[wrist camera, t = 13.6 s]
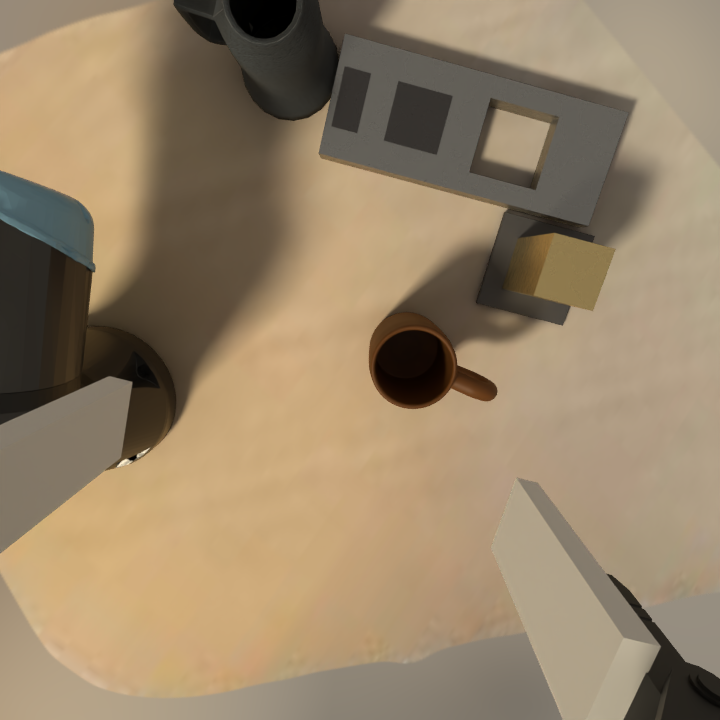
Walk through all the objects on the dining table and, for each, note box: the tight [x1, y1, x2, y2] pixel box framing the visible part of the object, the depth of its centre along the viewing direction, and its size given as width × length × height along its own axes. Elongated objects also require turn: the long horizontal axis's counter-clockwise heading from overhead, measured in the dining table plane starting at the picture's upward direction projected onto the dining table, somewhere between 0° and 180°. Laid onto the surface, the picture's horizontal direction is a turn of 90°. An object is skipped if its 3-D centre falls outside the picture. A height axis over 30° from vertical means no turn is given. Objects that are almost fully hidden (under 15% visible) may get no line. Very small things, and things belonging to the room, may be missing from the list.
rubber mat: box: [476, 212, 595, 325], centre depth 45 cm, size 9×9×1 cm
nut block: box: [502, 233, 615, 311], centre depth 40 cm, size 5×5×9 cm
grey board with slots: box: [319, 34, 628, 227], centre depth 42 cm, size 26×10×2 cm, turn 76°
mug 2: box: [369, 312, 497, 409], centre depth 43 cm, size 12×8×9 cm, turn 69°
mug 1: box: [173, 0, 339, 121], centre depth 36 cm, size 12×9×11 cm
